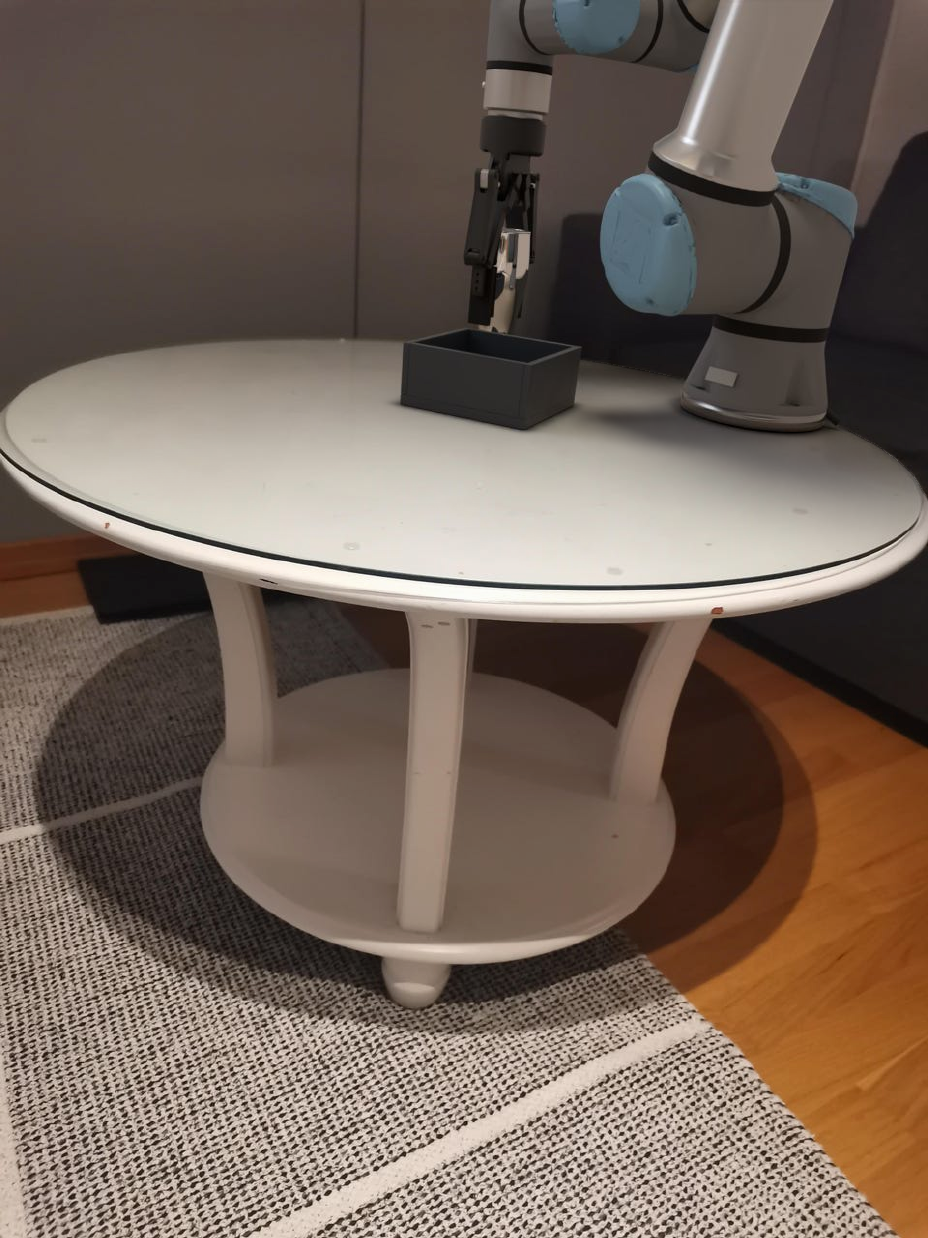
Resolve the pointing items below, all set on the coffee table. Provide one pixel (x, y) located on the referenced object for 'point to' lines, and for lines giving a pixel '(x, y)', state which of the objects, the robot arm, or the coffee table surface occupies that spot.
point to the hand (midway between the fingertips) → (495, 320)
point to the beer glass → (509, 280)
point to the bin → (490, 376)
